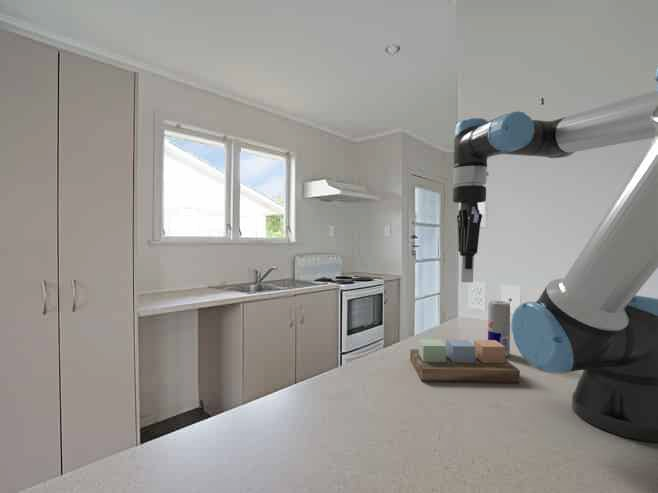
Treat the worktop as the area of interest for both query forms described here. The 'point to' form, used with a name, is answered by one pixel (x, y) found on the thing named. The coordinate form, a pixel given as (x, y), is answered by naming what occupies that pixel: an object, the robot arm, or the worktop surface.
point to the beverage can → (499, 323)
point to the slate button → (460, 351)
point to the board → (464, 371)
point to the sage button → (432, 350)
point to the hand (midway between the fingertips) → (466, 281)
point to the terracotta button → (489, 351)
